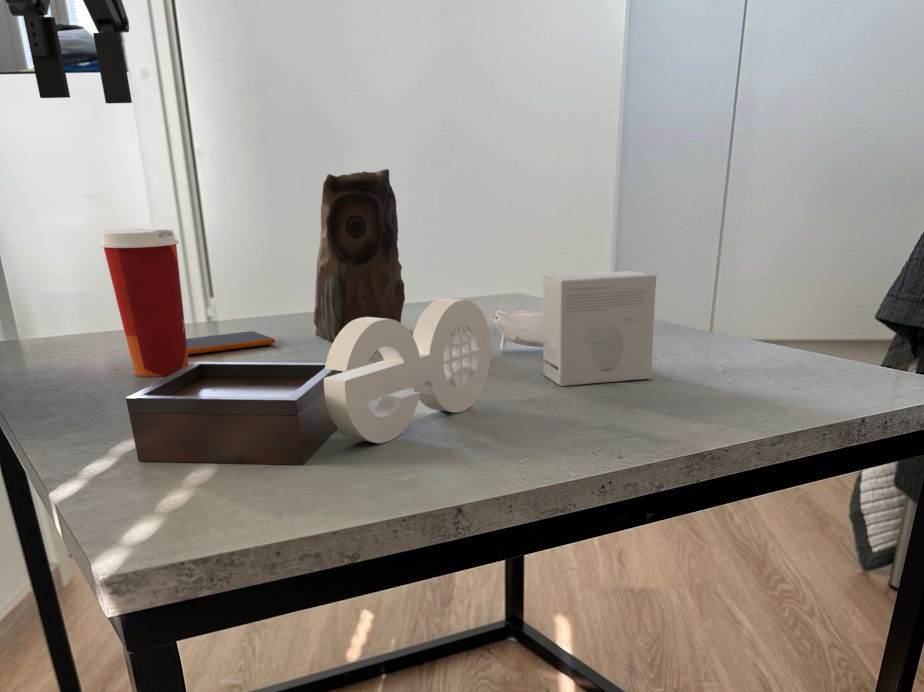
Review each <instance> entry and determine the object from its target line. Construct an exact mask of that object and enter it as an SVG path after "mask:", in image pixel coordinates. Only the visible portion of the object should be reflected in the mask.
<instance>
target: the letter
mask: <svg viewBox="0 0 924 692" xmlns="http://www.w3.org/2000/svg"><path fill="white" fill-rule="evenodd" d="M377 351H378V353H379V354H380V355H381V357H382V359H383V360H379V361H377V362H373V363H369V361H370V359H371V357H372V356H373V355H374V353H376V352H377ZM491 354H492V339H491V333H490V328H489V324H488V320H487V318H486V316H485V314H484V312H483V311H482V309H481V308H480V306H479V305H478V304H476V303H475V302H473V301H471V300H468V299H459V298H448V297H444V298H438V299H436V300H433V301H432V302H431V303H429V304H428V305H427V307H425V309H424V310H423V311H422V313H421V314H420V316H419V318H418V320H417V321H416V324H415V326H414V329H413V332H412V333H411V332H410V330H409V329H408V328H407V327H406V326H405V325H404V324H403V323H402V322H401V323H400V322H398V321H396V320H393V319H385V318H375V317H363V318H358V319H355V320H353V321H351V322H349V323H348V324H347V325H346V326H345V327H344V328H343V329H342V330H341V331H340V332H339V334H338V335H337V337H336V338H335V340H334V342H333V343H332V344H331V346H330V349H329V352H328V354H327V357H326V361H325V363H326V365H325V369H331V370H339V371H342V373H339V374H336V375H332V376H329V377H326V378H324V392H325V401H326V406H327V409H328V412H329V415H330V417H331V419H332V421H333V422H334V424H335V425H336V427H337V430H339V431H340V432H341V433H342V434H343V435H344V436H346V437H348V438H350V439H353V440H357V441H361V442H362V441H363V442H368V443H375V444H384V443H387V442H390V441H392V440H394V439H396V438H397V437H399V436H400V435H401V434H402V433H403V431H404V430H405V429H406V428H407V427H408V425H409V424H410V422H411V420H412V418H413V416H414V414H415V412H416V410H417V407H418V404H419V401H420V402H421V403H422V404H423V405H424V406H426V407H427V408H428V409H431V410H435V411H441V412H446V413H447V412H449V413H458V414H459V413H461V412H462V413H463V412H464V411H465V410H467V409H469V408H470V407H471V406H472V405H474V403H475V402H476V401H477V399H478V398H479V397H480V395H481V393H482V391H483V389H484V387H485V385H486V381H487V379H488V375H489V371H490V365H491V358H492V355H491ZM368 363H369V364H368ZM410 388H413V390H408V389H410ZM377 399H380V400H379V402H378V403H377V405H376V406H375V407H374V408H373V409H370V408H369V407H368V405H367V403H369V402H372V401H374V400H377Z"/></svg>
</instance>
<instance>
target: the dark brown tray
mask: <svg viewBox="0 0 924 692" xmlns="http://www.w3.org/2000/svg"><path fill="white" fill-rule="evenodd" d="M325 365H326V362H281V361H280V362H279V361H278V362H277V361H276V362H273V361H271V362H268V361H267V362H265V361H264V362H263V361H262V362H261V361H260V362H259V361H193V362H191V363H190V364H188V366H186V367H184V368H182V369H180V370H178V371H176V372H174V373H173V374H171V375H169V376H164V377H163V378H161V379H160V380H158V381H156V382H154V383H152V384H149V385H148V386H145V387H144V388H142V389H140V390H139V391H137V392H135V393H133V394H131V395H129V396H127V397H125V401H126V407H127V412H128V416H129V421H130V427H131V431H132V437H133V441H134V446H135V451H136V457H137V462H146V463H147V462H150V463H151V462H153V463H155V462H156V463H192V464H193V463H195V464H196V463H197V464H198V463H201V464H240V465H241V464H245V465H246V464H247V465H249V464H250V465H288V466H289V465H292V466H293V465H294V466H295V465H296V466H304V465H305V464H306V462H307V461H308V460H309V459H310V458H312V456H313V455H314V454H315V453H316V452H317V451H318V450H319V449H320V448H321V447H322V446H323V444H324V443H326V441H327V440H328V439H329V438H330V437H331V436H332V435H333V434H334V433H335V432H336V431H337V430H338V428H337V427H336V425H335V424H334V422H333V421H332V419H331V417H330V415H329V412H328V409H327V406H326V401H325V392H324V378H326V377H329V376H332V375H336V374H339V373H342V372H343V371H339V370H331V369H325Z"/></svg>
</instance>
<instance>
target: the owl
mask: <svg viewBox="0 0 924 692" xmlns="http://www.w3.org/2000/svg"><path fill="white" fill-rule="evenodd" d="M390 182H391V181H390V170H389V168H384V169H381V170H377V171H372V172H371V171H362V172H350V173H348V174H340V175H337V176H336V175H333V174H330V173H328V174H327V175H326V178H325V179H324V181H323V183H322V193H321V204H320V241H319V249H318V253H317V260H316V275H315V276H316V277H315V295H314V308H313V309H314V312H313V324H314V326H315V336H318V337H320V338H322V339H323V340H327V341H328V342H329V343H332V344H333V342H334V340H335V338H336V337H337V335H338V334H339V332H340V331H341V330H342V329H343V328H344V327H345V326H346V325H347V324H348V323H349V322H351V321H353V320H355V319H358V318H363V317H375V318H385V319H393V320H396V321H398V322H400V323H401V324H402V315H403V310H404V309H403V308H404V303H405V302H406V295H405V283H404V280H403V279H402V269H403V268H402V267H403V266H402V264H401V262H400V260H399V257H400V253H399V247H398V242H399V241H398V240H399V222H398V220H399V219H398V213H397V198H396V194H395V192H394V190H393V187H392V185H391V183H390Z"/></svg>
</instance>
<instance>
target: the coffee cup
mask: <svg viewBox="0 0 924 692" xmlns="http://www.w3.org/2000/svg"><path fill="white" fill-rule="evenodd" d="M101 240H102V241H101V242H100V244H99V247H101V248H103V251H104V255H105V259H106V263H107V267H108V271H109V274H110V279H111V283H112V287H113V291H114V295H115V299H116V304H117V307H118V311H119V316H120V319H121V324H122V328H123V332H124V336H125V339H126V344H127V347H128V351H129V356H130V359H131V363H132V366H133V369H134V372H135V374H136V375H137V376H140V377H150V378H151V377H154V378H155V377H167V375H171V374H173V373H174V372H176V371H178V370H180V369H182V368H184V367H186V366H188V365H189V355H188V353H187V342H186V339H187V333H186V324H185V323H186V322H185V315H184V314H185V313H184V304H183V293H182V285H181V275H180V267H179V255H178V248H177V244H179V243H180V241H179V240H178V239H176V236H175V232H174V230H173V228H171V227H128V228H127V227H126V228H116V229H114V228H113V229H107V230H104V231H102V238H101Z"/></svg>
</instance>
